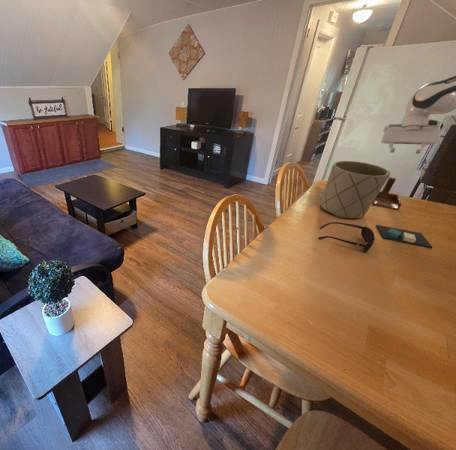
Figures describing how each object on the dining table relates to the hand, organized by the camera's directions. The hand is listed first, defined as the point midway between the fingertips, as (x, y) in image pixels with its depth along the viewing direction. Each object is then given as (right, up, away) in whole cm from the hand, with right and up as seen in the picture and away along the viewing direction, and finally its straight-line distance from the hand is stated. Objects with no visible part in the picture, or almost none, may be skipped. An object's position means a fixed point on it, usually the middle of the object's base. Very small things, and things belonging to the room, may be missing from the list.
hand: (404, 152), depth 121 cm
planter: (-40, -30, -10) cm, 51 cm away
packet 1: (-33, -38, -29) cm, 58 cm away
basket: (-13, -24, -2) cm, 28 cm away
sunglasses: (-54, -42, -30) cm, 75 cm away
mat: (-29, -40, -28) cm, 57 cm away
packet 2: (-30, -40, -31) cm, 59 cm away
